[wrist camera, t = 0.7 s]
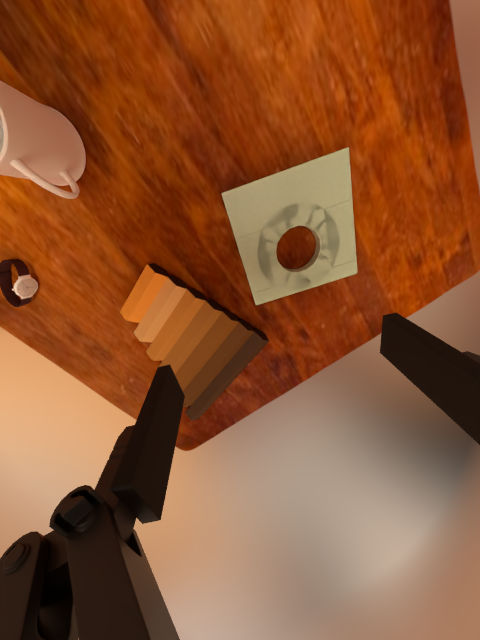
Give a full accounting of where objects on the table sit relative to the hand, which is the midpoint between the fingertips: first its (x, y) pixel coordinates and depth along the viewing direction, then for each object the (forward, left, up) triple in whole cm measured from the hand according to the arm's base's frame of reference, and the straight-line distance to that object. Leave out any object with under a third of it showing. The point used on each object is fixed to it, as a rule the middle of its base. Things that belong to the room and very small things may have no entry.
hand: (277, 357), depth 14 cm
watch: (-9, -35, -27) cm, 45 cm away
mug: (-21, -19, -27) cm, 39 cm away
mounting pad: (-2, +9, -27) cm, 28 cm away
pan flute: (+12, -17, -27) cm, 34 cm away
